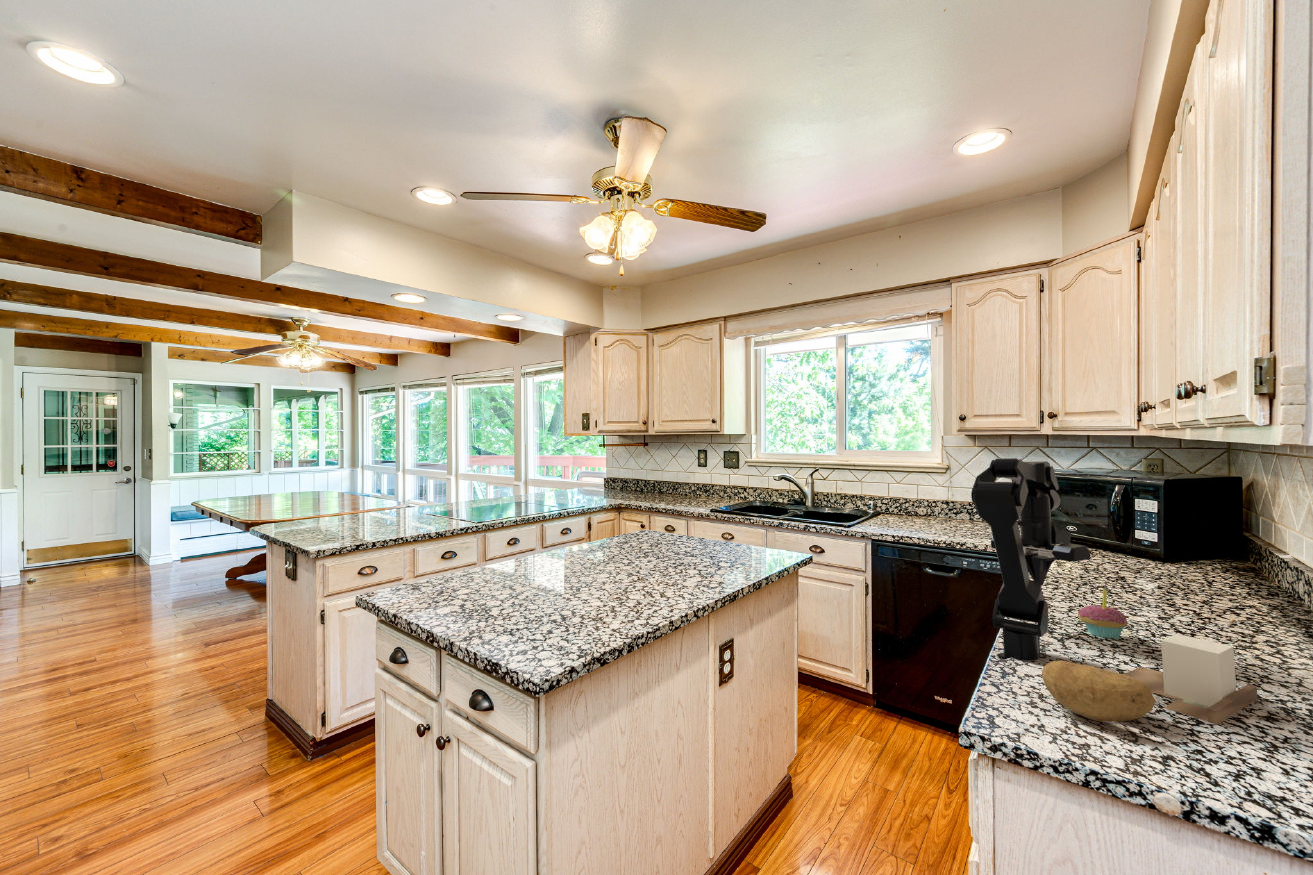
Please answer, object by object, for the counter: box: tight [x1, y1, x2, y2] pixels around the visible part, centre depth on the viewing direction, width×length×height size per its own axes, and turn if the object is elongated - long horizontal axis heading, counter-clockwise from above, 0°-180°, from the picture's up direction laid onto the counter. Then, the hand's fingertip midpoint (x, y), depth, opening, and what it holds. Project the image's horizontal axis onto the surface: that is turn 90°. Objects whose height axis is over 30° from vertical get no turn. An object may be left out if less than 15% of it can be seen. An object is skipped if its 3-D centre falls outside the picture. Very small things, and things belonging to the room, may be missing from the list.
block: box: [1160, 633, 1237, 707], centre depth 88 cm, size 7×6×9 cm
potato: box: [1041, 660, 1156, 723], centre depth 85 cm, size 10×14×8 cm
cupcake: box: [1077, 586, 1128, 640], centre depth 117 cm, size 9×8×12 cm
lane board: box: [1123, 666, 1259, 725], centre depth 90 cm, size 15×16×3 cm
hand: (1039, 585), depth 118 cm, fingers closed
